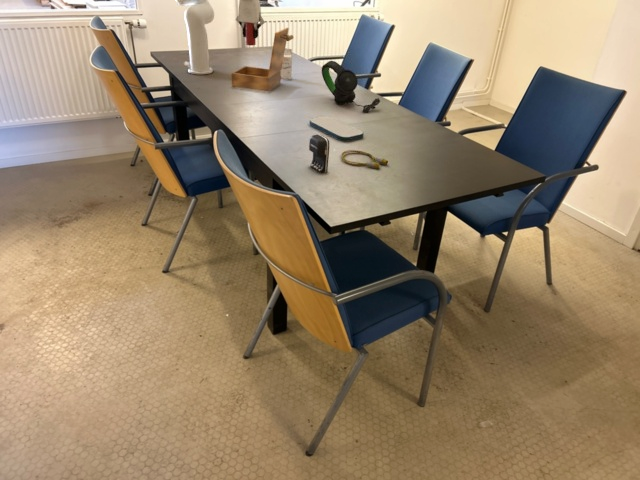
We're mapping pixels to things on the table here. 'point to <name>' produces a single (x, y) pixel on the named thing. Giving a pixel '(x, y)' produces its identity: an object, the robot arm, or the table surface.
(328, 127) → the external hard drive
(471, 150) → the table surface
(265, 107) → the table surface
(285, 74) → the ink cartridge box
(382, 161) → the extension cord
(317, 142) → the battery charger
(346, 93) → the headset
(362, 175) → the table surface
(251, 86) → the tea box
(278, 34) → the tea box lid
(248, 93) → the table surface
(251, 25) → the tea tin
